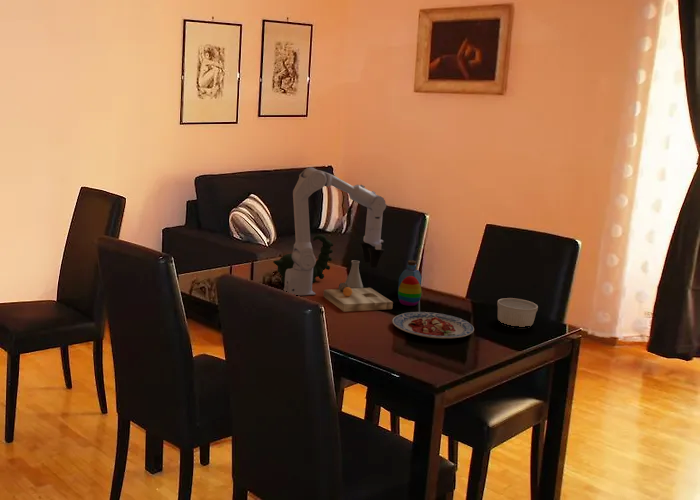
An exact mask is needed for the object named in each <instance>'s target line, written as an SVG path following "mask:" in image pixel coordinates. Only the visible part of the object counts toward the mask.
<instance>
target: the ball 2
mask: <svg viewBox="0 0 700 500" xmlns="http://www.w3.org/2000/svg"><path fill="white" fill-rule="evenodd" d="M343 294H344V295H345V296H350V295H351V294H352V289H351V288H350V287H346V288H344V290H343Z"/></svg>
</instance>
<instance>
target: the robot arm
mask: <svg viewBox="0 0 700 500" xmlns="http://www.w3.org/2000/svg"><path fill="white" fill-rule="evenodd" d="M298 177H299V178H298V180H297V182H296V184H295V186H294V188H293V190H292V198H293V199H292V201H293V203H292V204H293V218H294V219H293V220H294V231H295V232H294V233H295V234H294V235H295V242H294V244H293V249H292V253H291V254H292V260H293V261H294V265H293V268H291V269H287V270H286V272H285V283H284V284H283V285H284V287H283V291H284V292H286V291H287V292H289V293H292V294H295V295H298V296H315V295H317V293H316V292H315V291H314V290H313V282H312V281H313V267H314V266H315V264H316V261H317V258H316V256H315V254H314V249H313V246H312V242H311V229H310V227H311V225H310V213H309V212H310V211H309V208H310V207H309V198H310V197H311V195H312V194H314V193H315V192H317V191H319V190H322V188H324V187H326V188H327V187H334V188H335V189H338V190H340V191H342V192H343V193H344V192H345V193H347V194H348V195H349V199H350V200H352V201H353V202H356V203H357V204H360V205H361V206H363V207H366V210H367V211H366V219H365V220H366V221H365V232H364V236H363V239H362V240H363V242H359V245H360V248H361V251H362V256H363V262H364V263H370V264H369V265H370V268H372V269H373V268H377V267H378V264H379V262H380V259H381V257H382V255H383V254H384V252H385V249H384V248H382V246H383V245H382V243H384V240H383V239H381V237H382V225H383V218H384V217H383V215H384V214H383V213H384V211H385V210H386V208H387V203H386V199H385V198H384V197H382V196H380V195H378V194H377V193H376V192H375V191H374V190H372V191H371V190H369V189H367V188H366V187H365V185H363V184H360V185H359V184H356V185H352V184H350V183H349V182H347V181H345V180H342V179H341V178H339V177H337V176H335V175H334V174H331V173H329V172H327V171H324V170H320V169H316V168H314V167H313V166H311V167H307V168H305V169H304V170H302V172H300V174H299V175H298ZM287 292H286V293H287Z"/></svg>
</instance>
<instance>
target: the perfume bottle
mask: <svg viewBox="0 0 700 500" xmlns="http://www.w3.org/2000/svg"><path fill="white" fill-rule="evenodd" d="M406 267H407V268H405V269H404V270H403V271H402V272H401V274H400V275H399V277H398V287H397V290H398V289H399V286H400V284H401V282H402V281H403V280H404V279H405V278H406V277H408V276H413V277H415V278H416V279H417V280H418V282H419V283H420V286H422V285H421V284H422V275H421V273H420V271H419V269H416V268H417V261H416V260H413V259H412V260H411V259H409V260H407V263H406Z"/></svg>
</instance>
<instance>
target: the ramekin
mask: <svg viewBox="0 0 700 500" xmlns="http://www.w3.org/2000/svg"><path fill="white" fill-rule="evenodd" d="M496 302H497V304H496V305H497V320H498V322H499V321H500V322H501V323H504V324H507V325H511V326H519V327H525V326H530V327H531V326H532V325H533V324H534V323H535V322H534V321H535V318H536V314H537V312H538V309H539V306H538V304H536V303H534V302H533V301H529V300H526V299H522V298H515V297H514V298H513V297H507V298H500V299H498V300H497V301H496ZM500 322H499V323H500ZM501 323H500V324H501Z"/></svg>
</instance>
